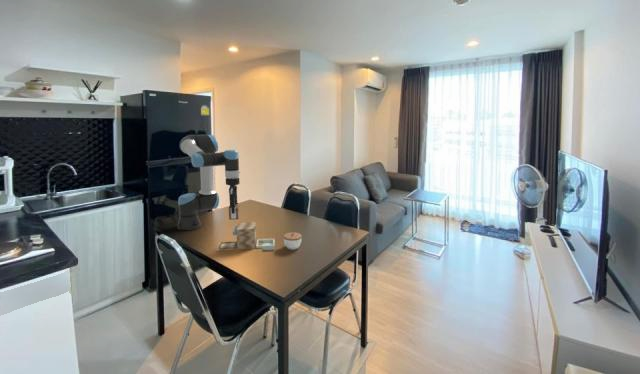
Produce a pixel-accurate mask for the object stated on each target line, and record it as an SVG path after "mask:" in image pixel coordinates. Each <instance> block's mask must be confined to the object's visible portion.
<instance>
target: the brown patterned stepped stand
mask: <svg viewBox="0 0 640 374" xmlns="http://www.w3.org/2000/svg"><path fill="white" fill-rule="evenodd" d="M256 223H257V222H256V221H252V222H251V221H250V222H238V223H237V225H236V226H237V229H236V231H237V235H236V241H235V240H234V241H233V240H232V241H231V240H230V241H219V242H218V244H217V246H216V249H215V251H230V250H231V251H232V250H250V249H252V250H253V249H254V250H255V249H256V244H257V233H256V232H257V230H256V229H257V228H256V227H257V226H256Z"/></svg>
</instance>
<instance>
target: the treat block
mask: <svg viewBox="0 0 640 374" xmlns="http://www.w3.org/2000/svg"><path fill="white" fill-rule="evenodd" d="M229 207H230V205H229ZM229 207H228V219H229V220H231V221H232V220H234V219H231V208H229ZM235 207H236V219H235V220H239V218H240V205H239V204H236V205H235Z"/></svg>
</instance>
